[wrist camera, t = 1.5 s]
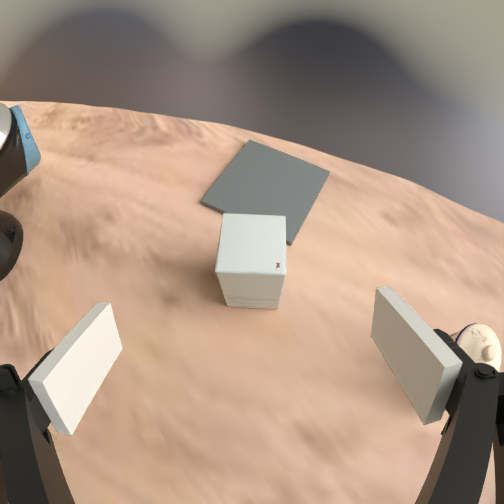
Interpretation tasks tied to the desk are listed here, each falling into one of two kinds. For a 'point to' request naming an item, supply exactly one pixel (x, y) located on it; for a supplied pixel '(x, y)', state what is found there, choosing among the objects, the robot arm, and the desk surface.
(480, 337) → the teacup with lid
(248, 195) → the slate mat
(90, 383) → the robot arm
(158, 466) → the desk surface
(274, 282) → the supplement box
